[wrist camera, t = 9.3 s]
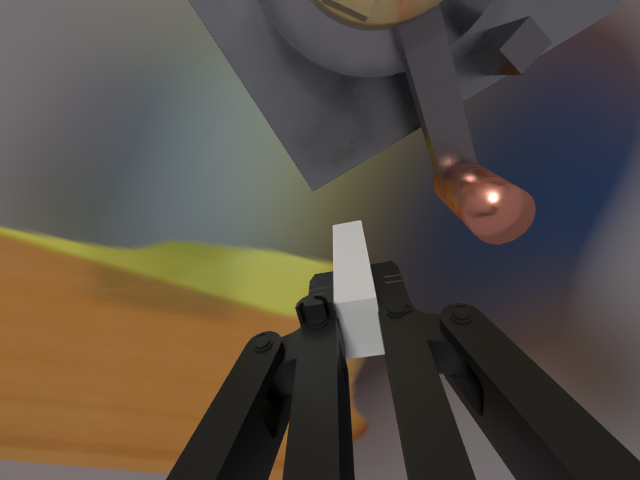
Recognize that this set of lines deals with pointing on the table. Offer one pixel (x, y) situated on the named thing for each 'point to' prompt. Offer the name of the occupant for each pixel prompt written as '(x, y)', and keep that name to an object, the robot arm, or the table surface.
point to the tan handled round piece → (442, 114)
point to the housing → (371, 67)
